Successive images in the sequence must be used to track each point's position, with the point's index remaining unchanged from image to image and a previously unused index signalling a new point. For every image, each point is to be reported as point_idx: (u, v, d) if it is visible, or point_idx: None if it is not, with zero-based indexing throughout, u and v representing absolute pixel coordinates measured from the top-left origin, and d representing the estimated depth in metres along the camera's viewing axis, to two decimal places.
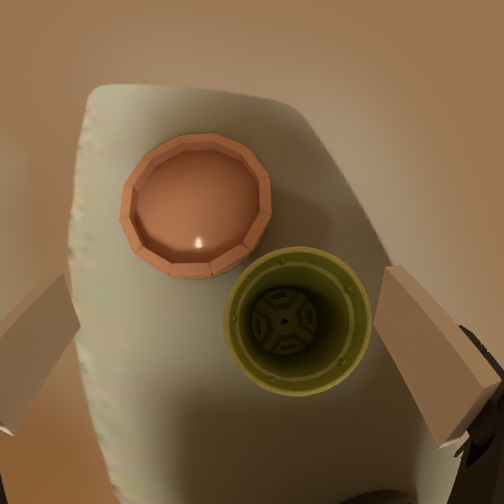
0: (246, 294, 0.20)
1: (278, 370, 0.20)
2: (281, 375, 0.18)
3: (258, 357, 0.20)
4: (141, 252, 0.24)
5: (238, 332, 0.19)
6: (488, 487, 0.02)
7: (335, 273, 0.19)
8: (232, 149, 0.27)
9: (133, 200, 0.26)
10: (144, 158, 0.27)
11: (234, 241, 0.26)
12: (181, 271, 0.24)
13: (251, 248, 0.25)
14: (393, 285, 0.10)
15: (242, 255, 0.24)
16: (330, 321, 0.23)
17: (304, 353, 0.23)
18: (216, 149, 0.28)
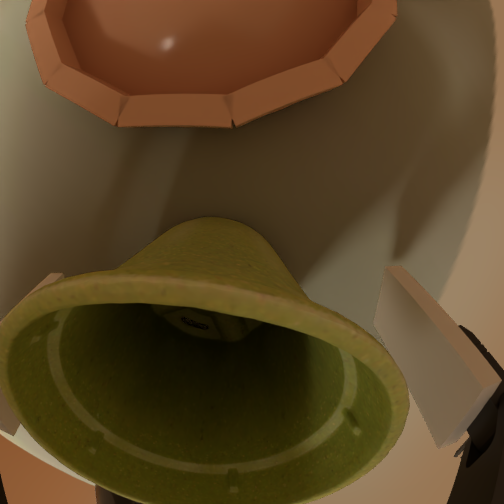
0: None
1: (127, 407, 0.09)
2: (120, 434, 0.08)
3: (103, 365, 0.08)
4: (35, 23, 0.06)
5: (57, 343, 0.06)
6: (488, 487, 0.02)
7: (364, 391, 0.06)
8: None
9: None
10: None
11: (222, 77, 0.09)
12: (67, 88, 0.07)
13: (239, 120, 0.08)
14: (393, 285, 0.10)
15: (207, 123, 0.08)
16: (281, 365, 0.11)
17: (206, 361, 0.12)
18: None
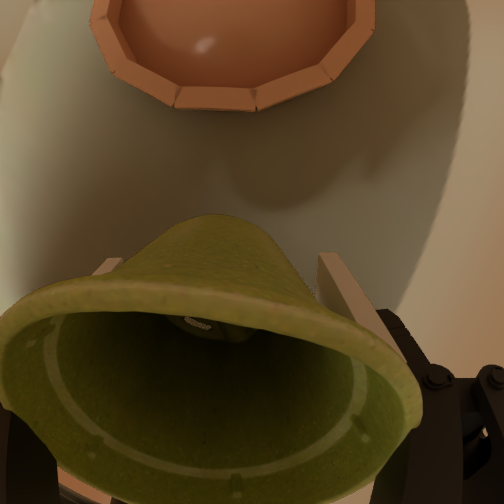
0: None
1: (128, 410, 0.08)
2: (121, 438, 0.07)
3: (103, 368, 0.08)
4: (99, 24, 0.09)
5: (55, 346, 0.06)
6: (399, 485, 0.03)
7: (374, 397, 0.05)
8: None
9: None
10: None
11: (247, 76, 0.12)
12: (132, 77, 0.11)
13: (261, 106, 0.12)
14: (323, 270, 0.11)
15: (239, 107, 0.12)
16: (286, 368, 0.10)
17: (209, 362, 0.12)
18: None
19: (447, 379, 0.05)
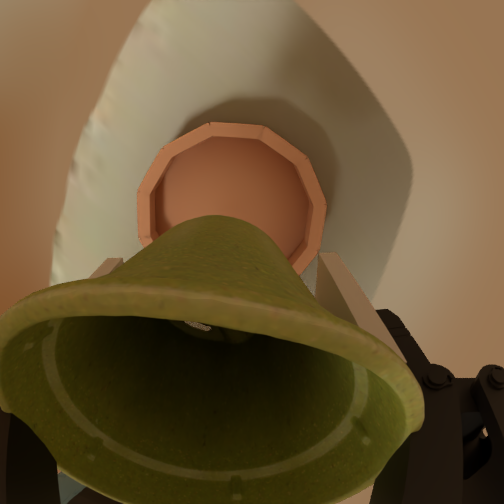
0: None
1: (127, 412, 0.08)
2: (120, 440, 0.07)
3: (102, 369, 0.08)
4: (146, 241, 0.22)
5: (52, 348, 0.06)
6: (400, 485, 0.03)
7: (376, 400, 0.05)
8: (309, 194, 0.21)
9: (164, 171, 0.20)
10: (204, 127, 0.19)
11: None
12: None
13: None
14: (323, 270, 0.11)
15: None
16: (286, 369, 0.10)
17: (209, 364, 0.12)
18: (295, 167, 0.21)
19: (447, 379, 0.05)
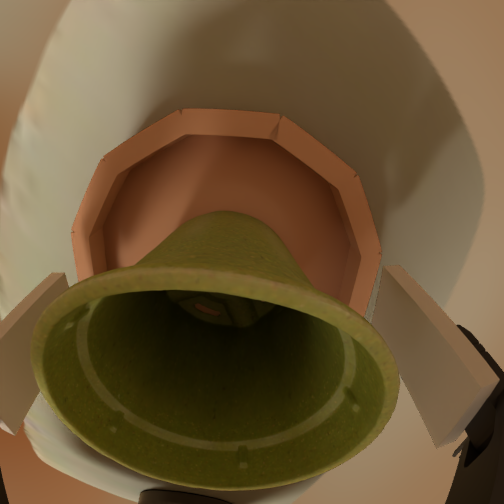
0: None
1: (145, 388, 0.10)
2: (139, 413, 0.09)
3: (124, 349, 0.10)
4: None
5: (85, 328, 0.07)
6: (486, 487, 0.02)
7: (362, 369, 0.07)
8: (356, 238, 0.12)
9: (110, 197, 0.11)
10: (171, 119, 0.10)
11: None
12: None
13: None
14: (391, 284, 0.10)
15: None
16: (288, 349, 0.12)
17: (218, 345, 0.14)
18: (331, 188, 0.12)
19: None
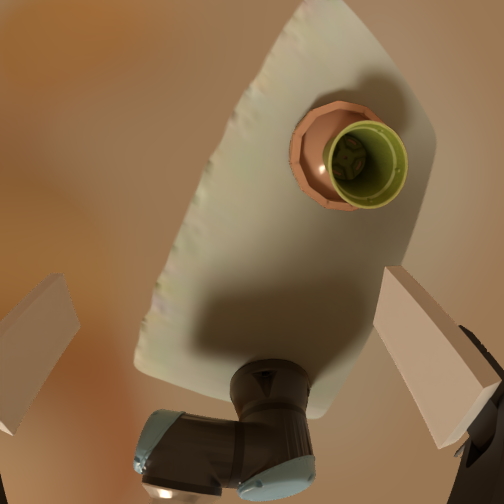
0: (351, 130, 0.28)
1: None
2: (337, 183, 0.30)
3: None
4: (295, 165, 0.34)
5: None
6: (488, 487, 0.02)
7: (398, 157, 0.28)
8: None
9: (309, 124, 0.33)
10: (335, 103, 0.31)
11: None
12: (311, 194, 0.36)
13: (353, 209, 0.36)
14: (393, 285, 0.10)
15: (346, 209, 0.36)
16: (371, 177, 0.33)
17: (344, 182, 0.35)
18: None
19: None
